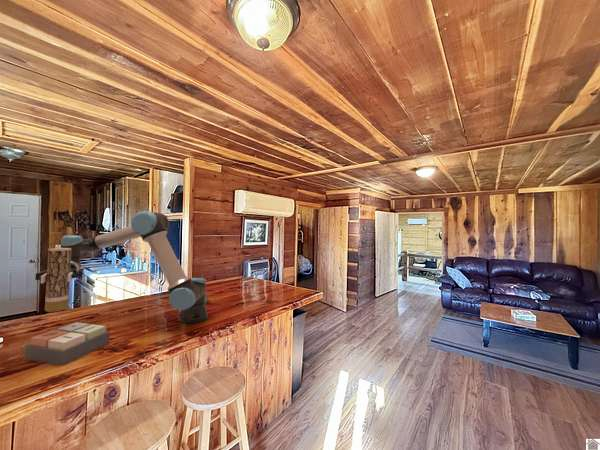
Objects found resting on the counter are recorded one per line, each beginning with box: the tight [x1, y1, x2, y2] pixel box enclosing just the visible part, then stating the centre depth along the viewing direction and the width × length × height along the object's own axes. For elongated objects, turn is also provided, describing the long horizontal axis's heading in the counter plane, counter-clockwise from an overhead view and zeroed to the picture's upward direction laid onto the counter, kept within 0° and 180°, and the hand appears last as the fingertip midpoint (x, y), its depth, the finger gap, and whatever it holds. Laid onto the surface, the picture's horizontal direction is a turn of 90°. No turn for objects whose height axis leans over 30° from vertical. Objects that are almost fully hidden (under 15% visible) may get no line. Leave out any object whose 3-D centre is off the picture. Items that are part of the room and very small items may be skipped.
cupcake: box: [205, 291, 210, 304], centre depth 170 cm, size 9×8×12 cm
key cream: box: [48, 332, 85, 351], centre depth 95 cm, size 8×8×3 cm
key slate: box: [56, 321, 91, 333], centre depth 105 cm, size 8×8×3 cm
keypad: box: [24, 330, 110, 366], centre depth 100 cm, size 18×18×5 cm
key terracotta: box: [29, 329, 68, 348], centre depth 97 cm, size 8×8×3 cm
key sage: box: [74, 323, 107, 340], centre depth 104 cm, size 8×8×3 cm
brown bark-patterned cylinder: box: [44, 247, 72, 313], centre depth 100 cm, size 7×7×25 cm
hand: (55, 278), depth 96 cm, fingers closed on brown bark-patterned cylinder, 7 cm apart
